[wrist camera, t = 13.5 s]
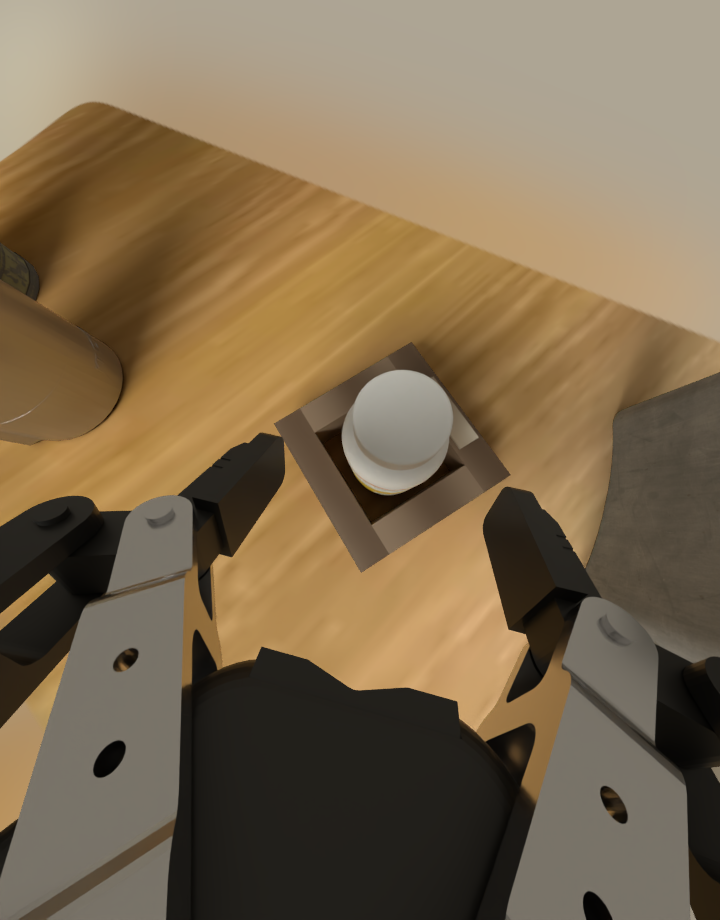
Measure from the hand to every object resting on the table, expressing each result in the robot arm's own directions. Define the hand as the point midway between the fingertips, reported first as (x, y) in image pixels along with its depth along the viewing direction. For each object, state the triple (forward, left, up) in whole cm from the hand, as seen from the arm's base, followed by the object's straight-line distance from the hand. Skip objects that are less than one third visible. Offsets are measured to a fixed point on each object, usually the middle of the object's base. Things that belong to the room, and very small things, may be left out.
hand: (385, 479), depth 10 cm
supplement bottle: (+2, +2, -10) cm, 10 cm away
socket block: (+2, +2, -10) cm, 10 cm away
